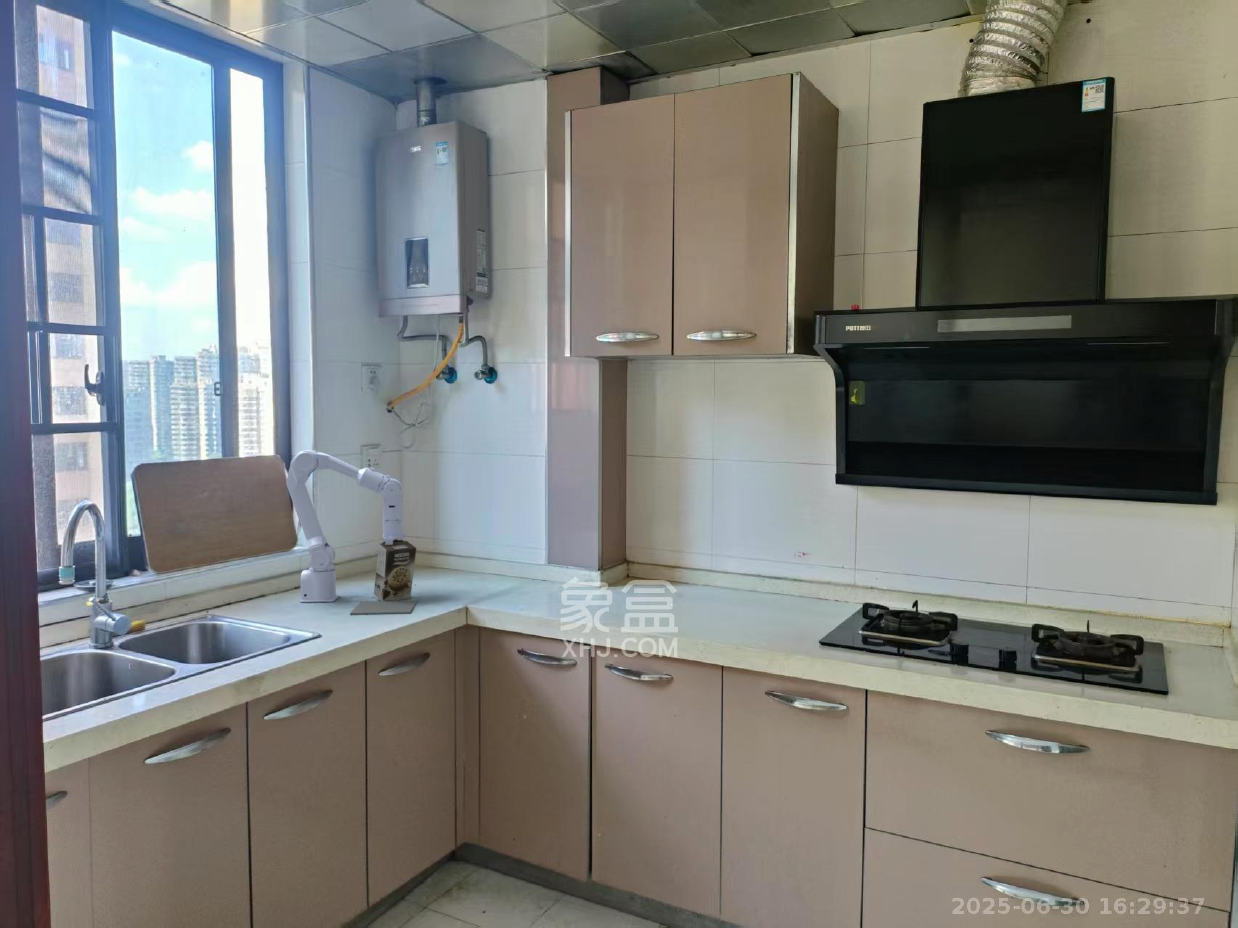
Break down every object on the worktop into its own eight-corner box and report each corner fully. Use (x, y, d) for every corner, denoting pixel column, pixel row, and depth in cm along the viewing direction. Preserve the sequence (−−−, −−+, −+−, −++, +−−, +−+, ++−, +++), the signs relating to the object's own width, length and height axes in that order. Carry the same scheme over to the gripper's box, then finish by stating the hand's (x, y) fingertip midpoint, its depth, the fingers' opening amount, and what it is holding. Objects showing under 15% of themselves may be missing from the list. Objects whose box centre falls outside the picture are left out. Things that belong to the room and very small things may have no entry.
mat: (350, 614, 232) (350, 613, 232) (360, 603, 246) (360, 601, 246) (410, 613, 233) (410, 611, 233) (417, 602, 247) (417, 600, 247)
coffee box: (382, 603, 246) (387, 551, 242) (373, 594, 251) (378, 542, 247) (411, 598, 252) (417, 547, 248) (401, 589, 257) (407, 539, 252)
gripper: (402, 522, 246) (403, 569, 247) (410, 516, 261) (410, 560, 262) (377, 523, 246) (378, 569, 246) (386, 516, 260) (387, 561, 261)
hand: (393, 565), depth 254 cm, fingers closed
